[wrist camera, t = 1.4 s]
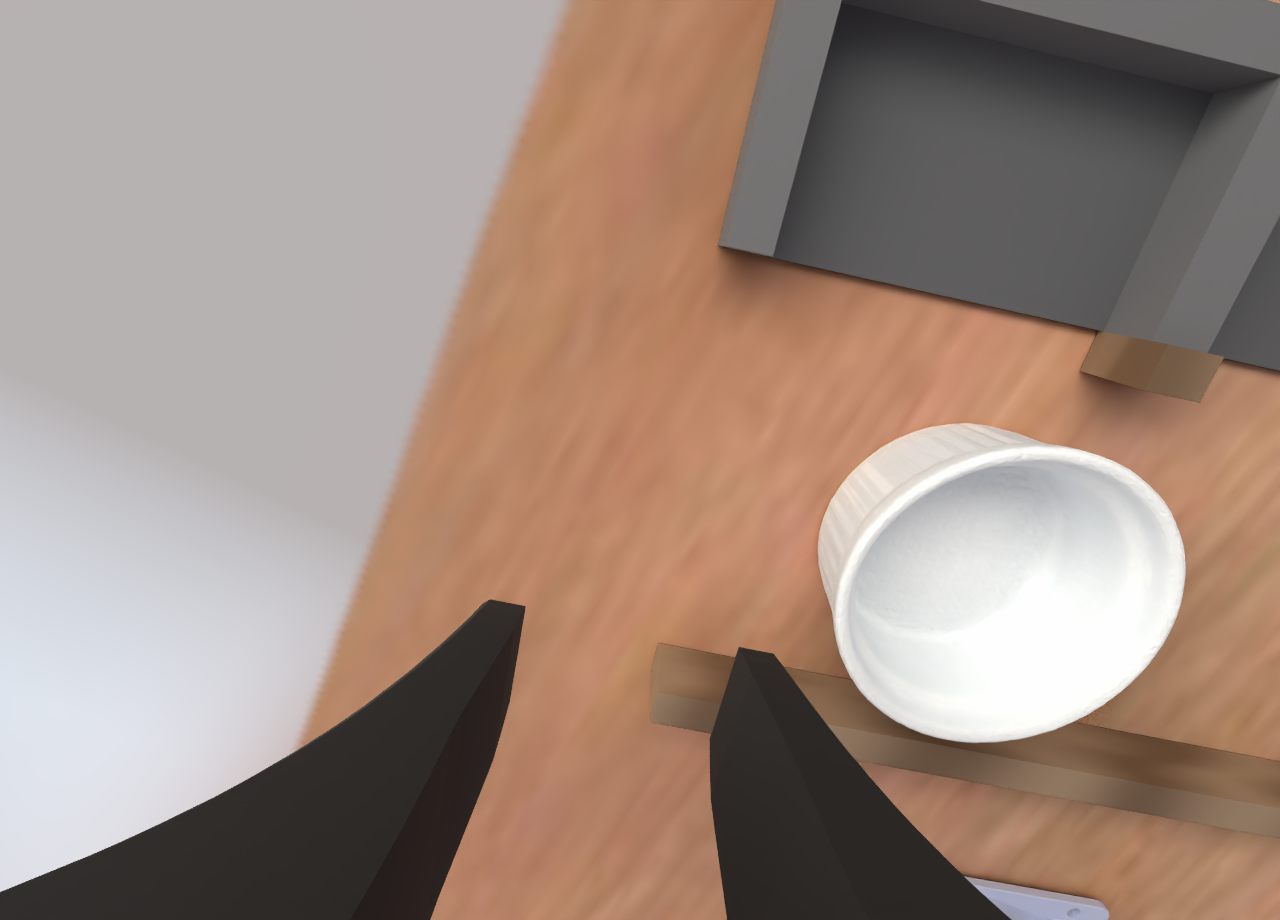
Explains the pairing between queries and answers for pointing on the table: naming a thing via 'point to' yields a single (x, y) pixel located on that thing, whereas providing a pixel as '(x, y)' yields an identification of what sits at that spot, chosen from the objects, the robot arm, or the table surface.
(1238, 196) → the grey e-shaped block
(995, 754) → the walnut channel
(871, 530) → the ramekin
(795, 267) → the table surface
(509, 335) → the table surface
